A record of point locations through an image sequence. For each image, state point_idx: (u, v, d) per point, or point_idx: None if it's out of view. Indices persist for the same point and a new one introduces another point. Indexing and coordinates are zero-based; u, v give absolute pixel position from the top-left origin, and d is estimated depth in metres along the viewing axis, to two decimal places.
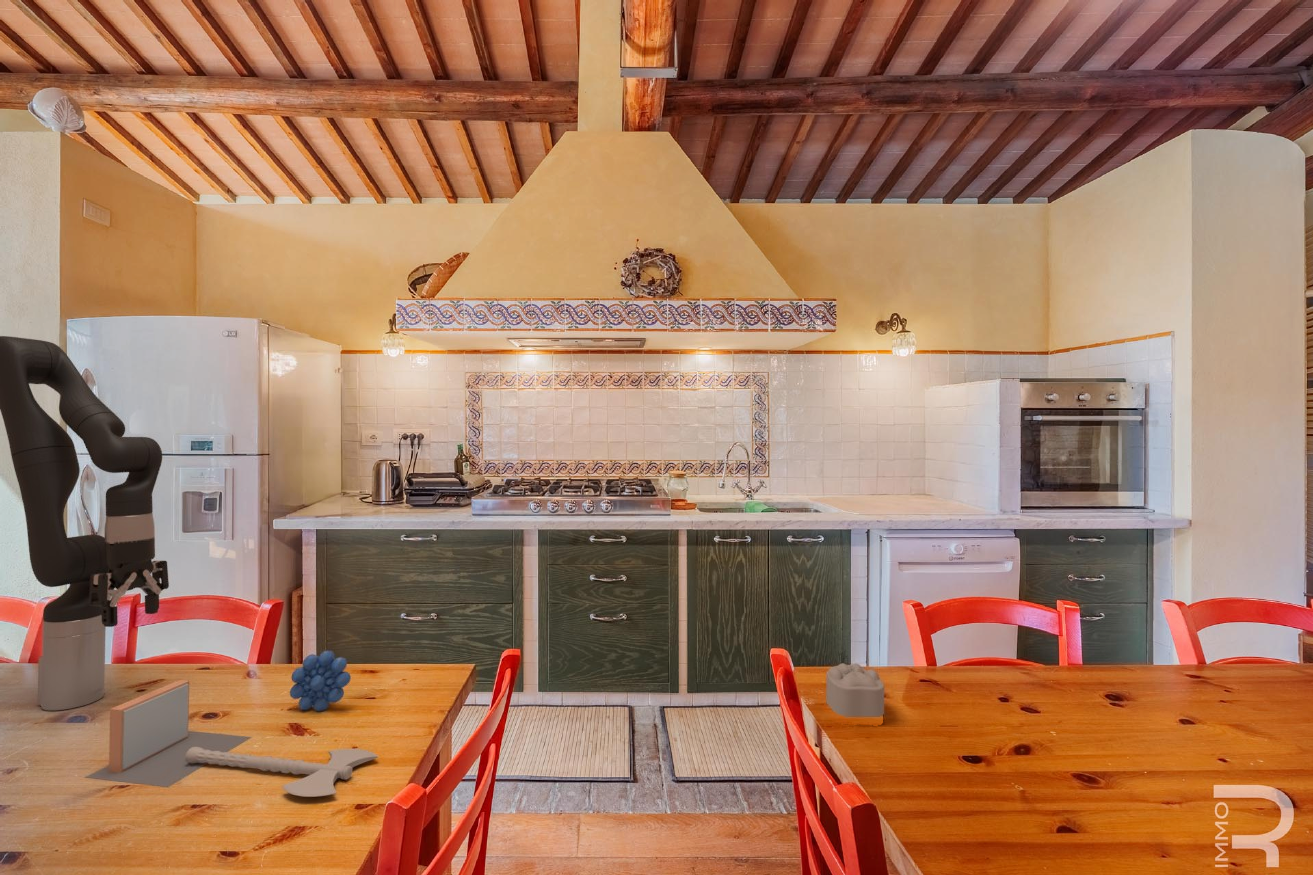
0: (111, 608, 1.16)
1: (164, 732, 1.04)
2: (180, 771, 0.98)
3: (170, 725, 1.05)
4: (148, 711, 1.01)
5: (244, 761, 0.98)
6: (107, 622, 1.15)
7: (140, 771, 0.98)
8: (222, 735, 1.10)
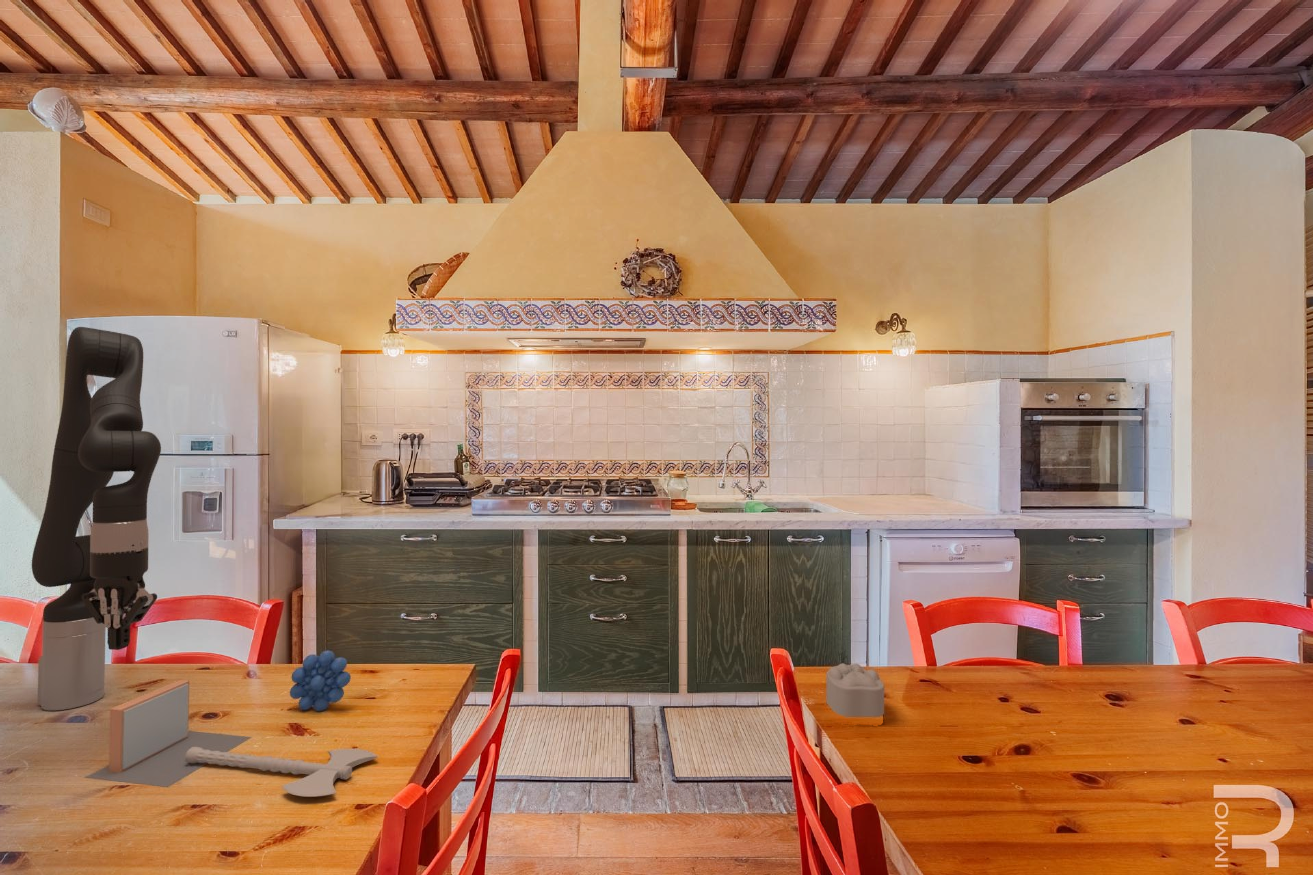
0: None
1: (164, 732, 1.04)
2: (180, 771, 0.98)
3: (170, 725, 1.05)
4: (148, 711, 1.01)
5: (244, 761, 0.98)
6: (128, 642, 1.05)
7: (140, 771, 0.98)
8: (222, 735, 1.10)
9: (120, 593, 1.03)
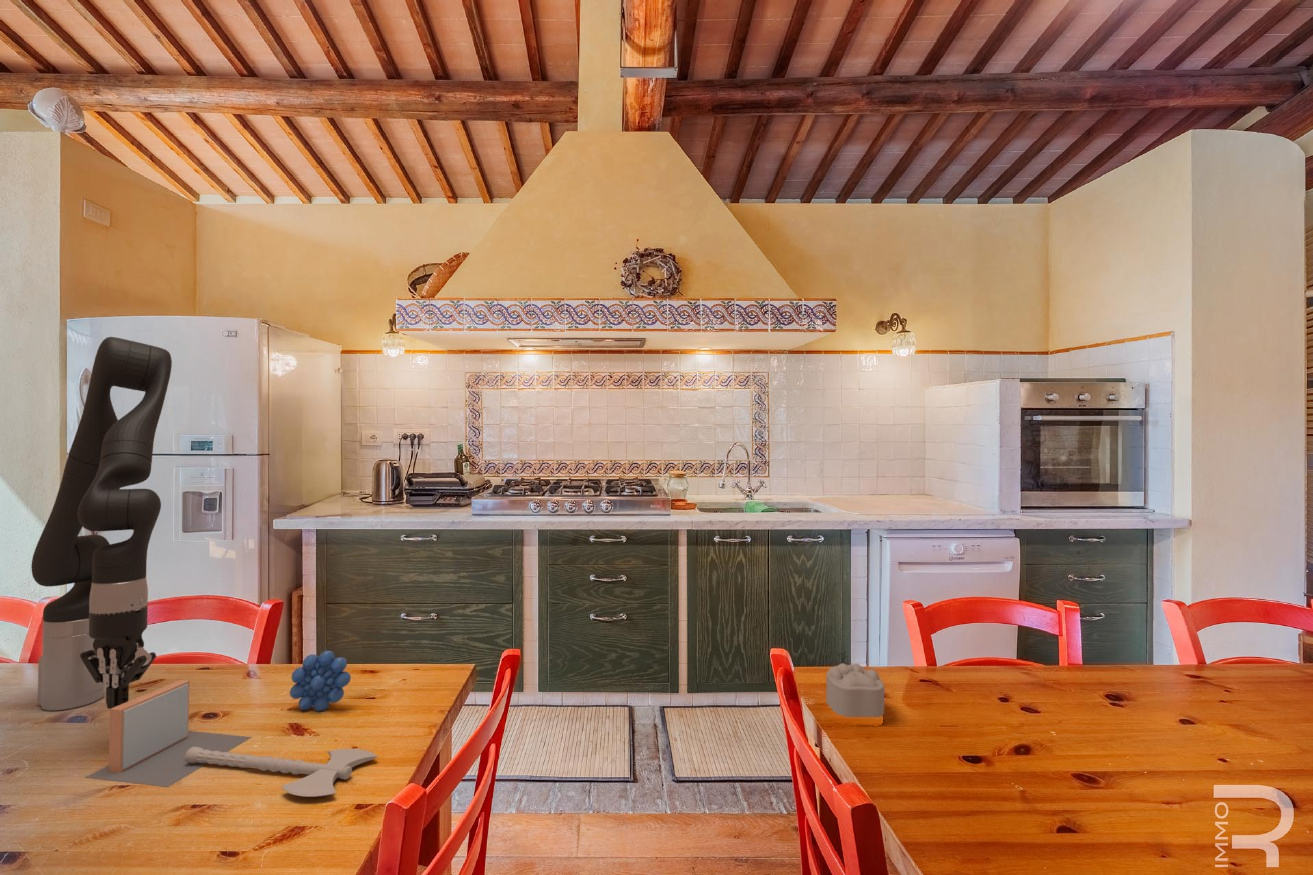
0: None
1: (164, 732, 1.04)
2: (180, 771, 0.98)
3: (170, 725, 1.05)
4: (148, 711, 1.01)
5: (244, 761, 0.98)
6: (126, 700, 1.04)
7: (140, 771, 0.98)
8: (222, 735, 1.10)
9: (119, 653, 1.03)
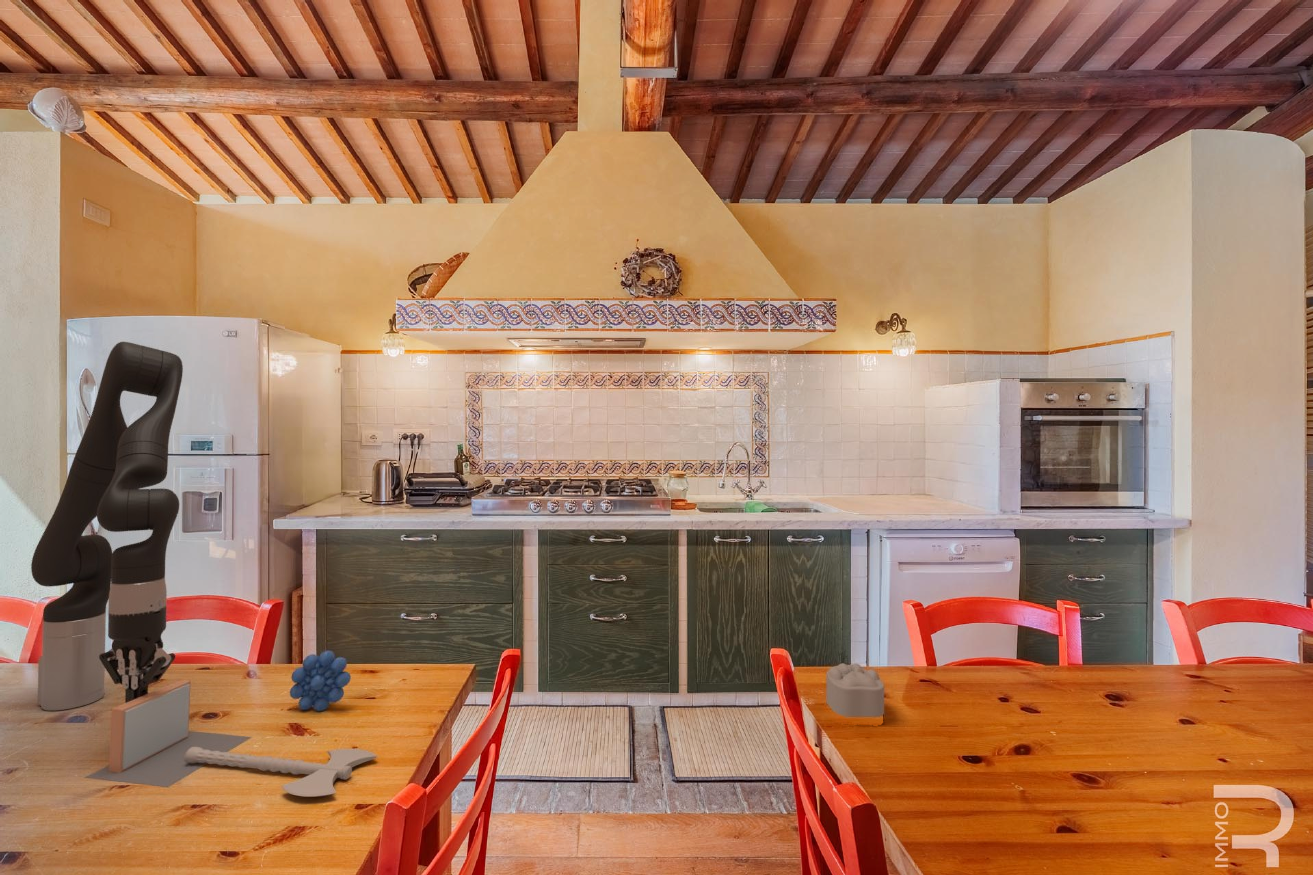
0: None
1: (165, 732, 1.04)
2: (180, 771, 0.98)
3: (170, 725, 1.05)
4: (149, 711, 1.01)
5: (243, 761, 0.98)
6: None
7: (140, 771, 0.98)
8: (222, 735, 1.10)
9: (138, 654, 1.02)
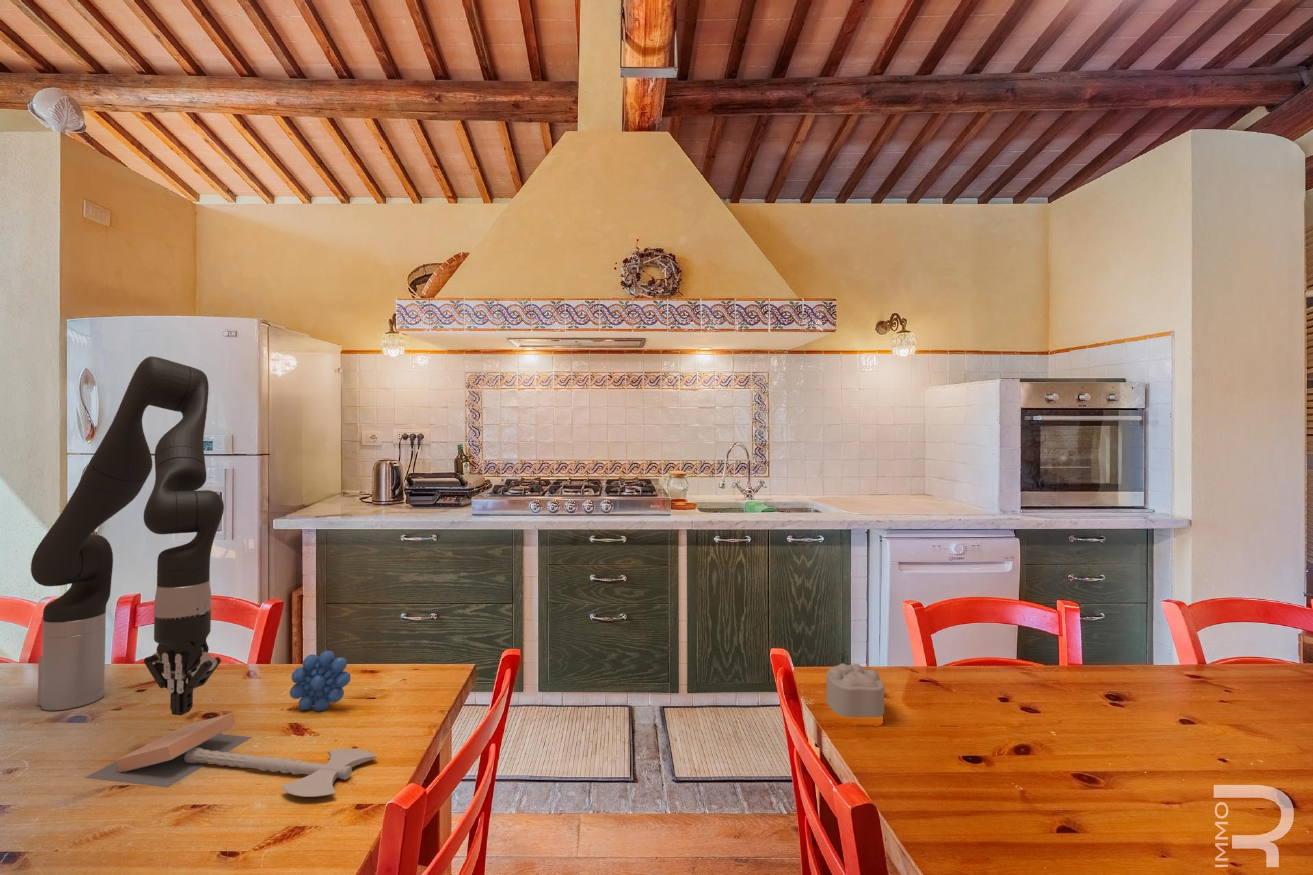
0: None
1: None
2: (180, 771, 0.98)
3: None
4: None
5: (243, 761, 0.98)
6: (191, 706, 1.03)
7: (140, 771, 0.98)
8: (222, 735, 1.10)
9: (184, 658, 1.01)
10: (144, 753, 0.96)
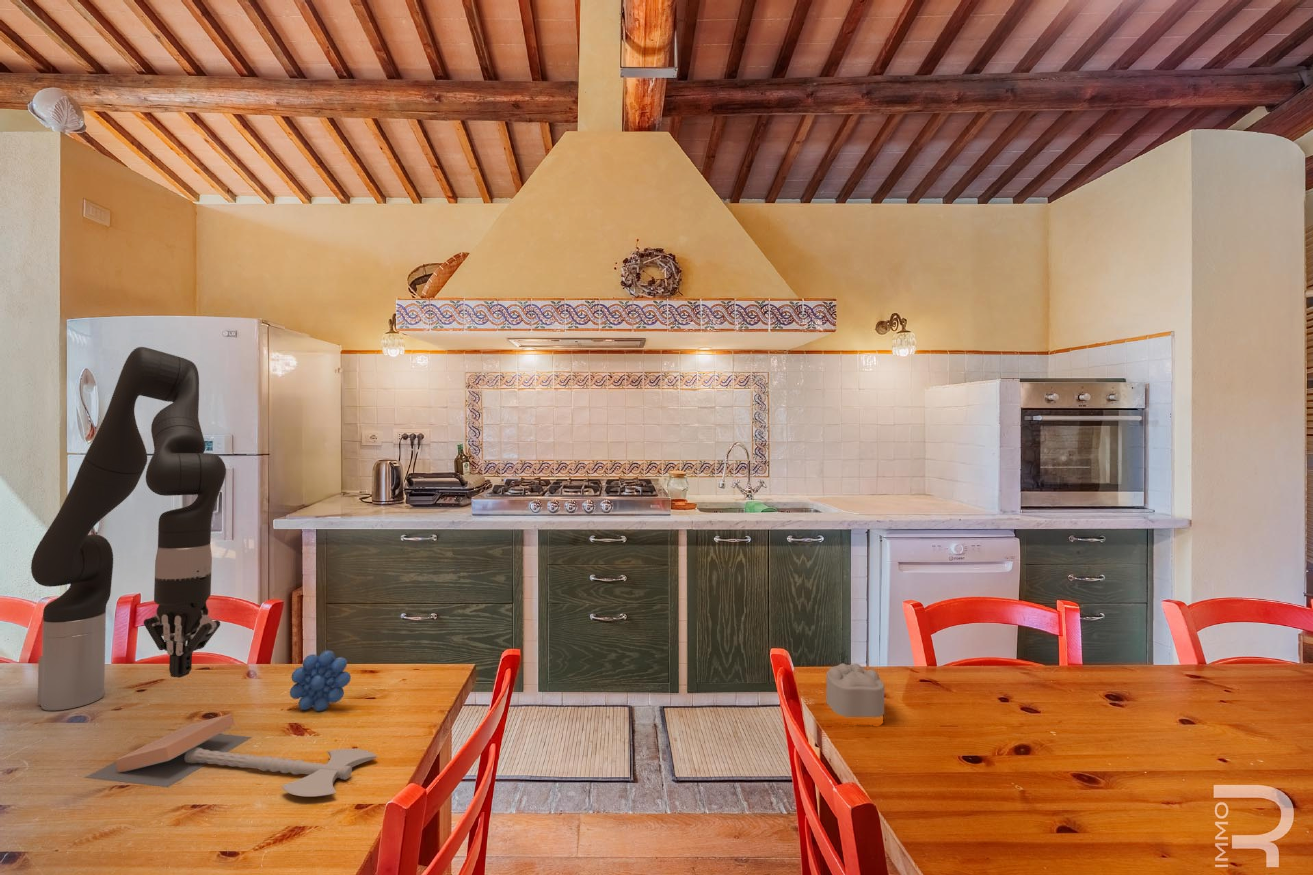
0: None
1: None
2: (180, 771, 0.98)
3: None
4: None
5: (243, 761, 0.98)
6: (189, 669, 1.02)
7: (140, 771, 0.98)
8: (222, 735, 1.10)
9: (184, 620, 1.00)
10: (143, 753, 0.96)
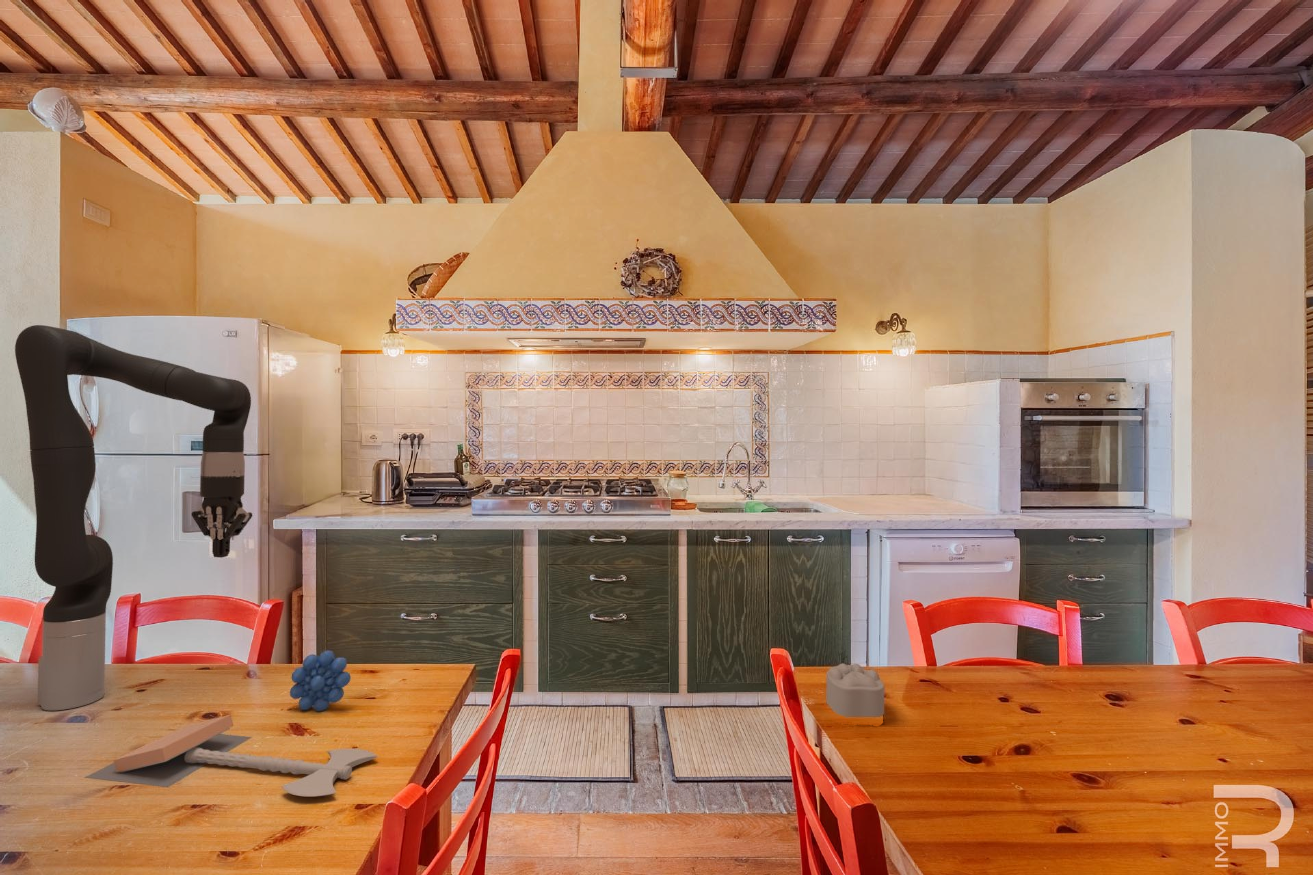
0: None
1: None
2: (180, 771, 0.98)
3: None
4: None
5: (243, 761, 0.98)
6: (228, 552, 1.27)
7: (140, 771, 0.98)
8: (222, 735, 1.10)
9: (223, 510, 1.25)
10: (140, 754, 0.96)
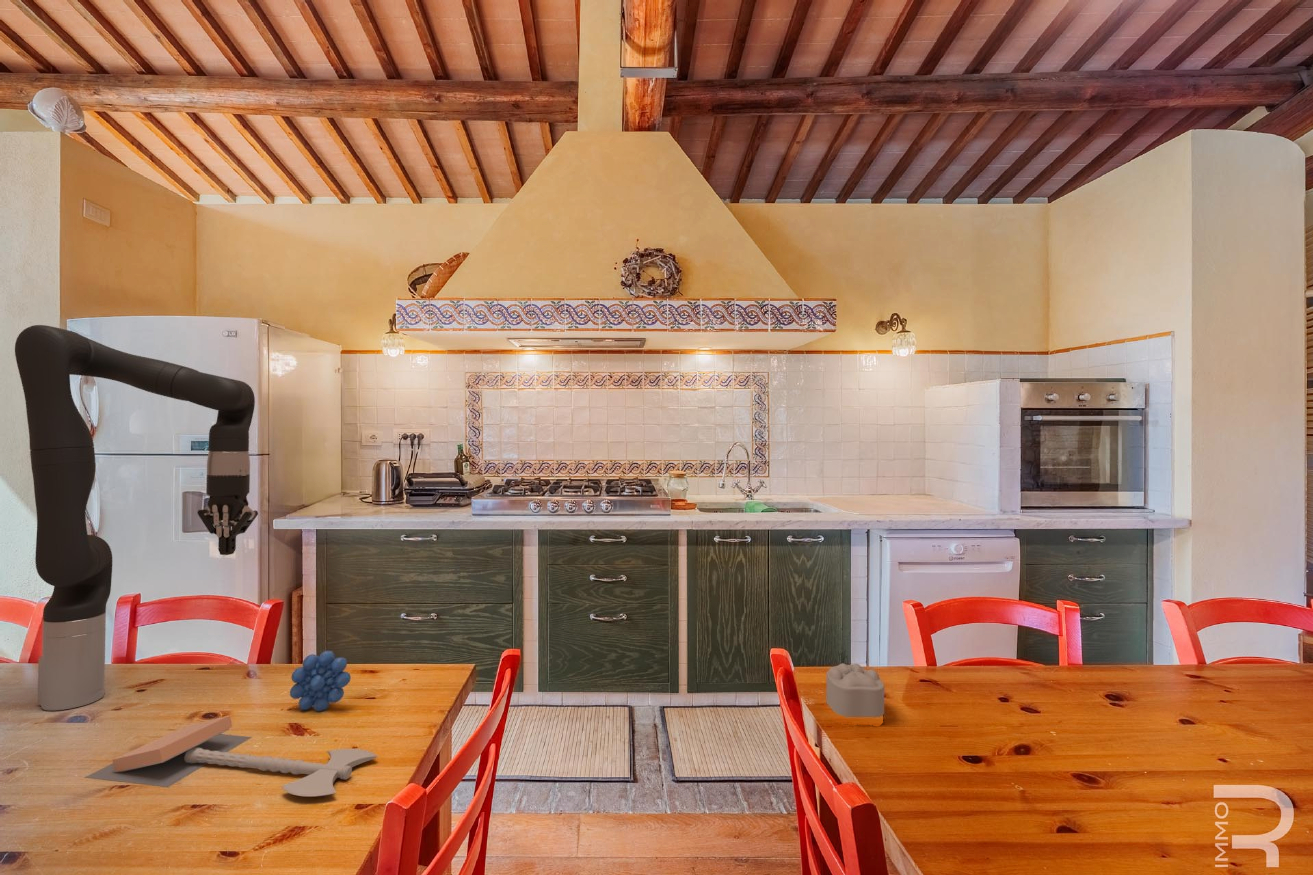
0: None
1: None
2: (180, 771, 0.98)
3: None
4: None
5: (243, 761, 0.98)
6: (234, 549, 1.30)
7: (140, 771, 0.98)
8: (222, 735, 1.10)
9: (230, 509, 1.28)
10: (138, 754, 0.96)
